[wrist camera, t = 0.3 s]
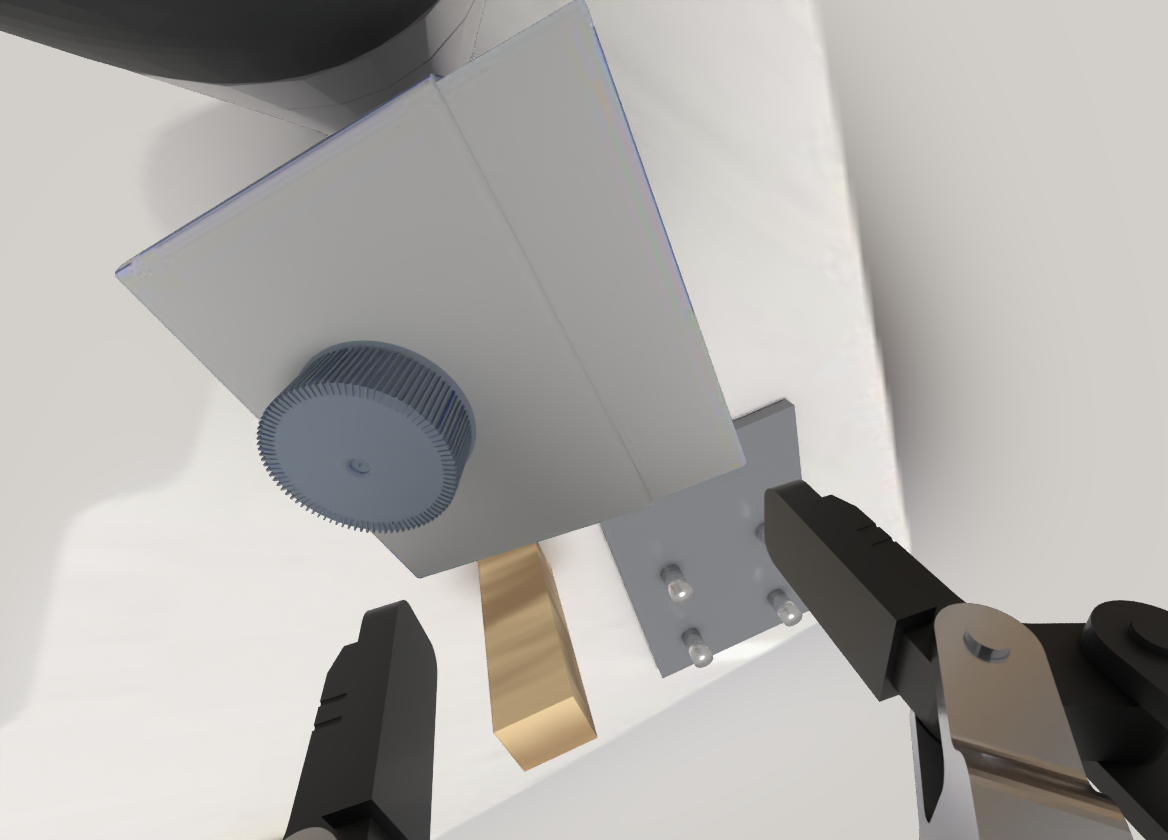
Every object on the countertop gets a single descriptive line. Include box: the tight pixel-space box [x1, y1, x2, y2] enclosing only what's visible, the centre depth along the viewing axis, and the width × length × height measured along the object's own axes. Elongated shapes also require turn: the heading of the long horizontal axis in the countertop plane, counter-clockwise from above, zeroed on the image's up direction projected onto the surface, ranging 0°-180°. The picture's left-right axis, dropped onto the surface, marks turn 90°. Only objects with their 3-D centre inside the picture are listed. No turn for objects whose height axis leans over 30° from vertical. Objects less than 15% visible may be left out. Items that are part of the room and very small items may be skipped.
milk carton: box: [115, 0, 746, 578], centre depth 15 cm, size 7×7×20 cm
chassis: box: [600, 399, 809, 678], centre depth 37 cm, size 22×15×4 cm
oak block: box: [478, 542, 597, 772], centre depth 29 cm, size 4×4×12 cm
